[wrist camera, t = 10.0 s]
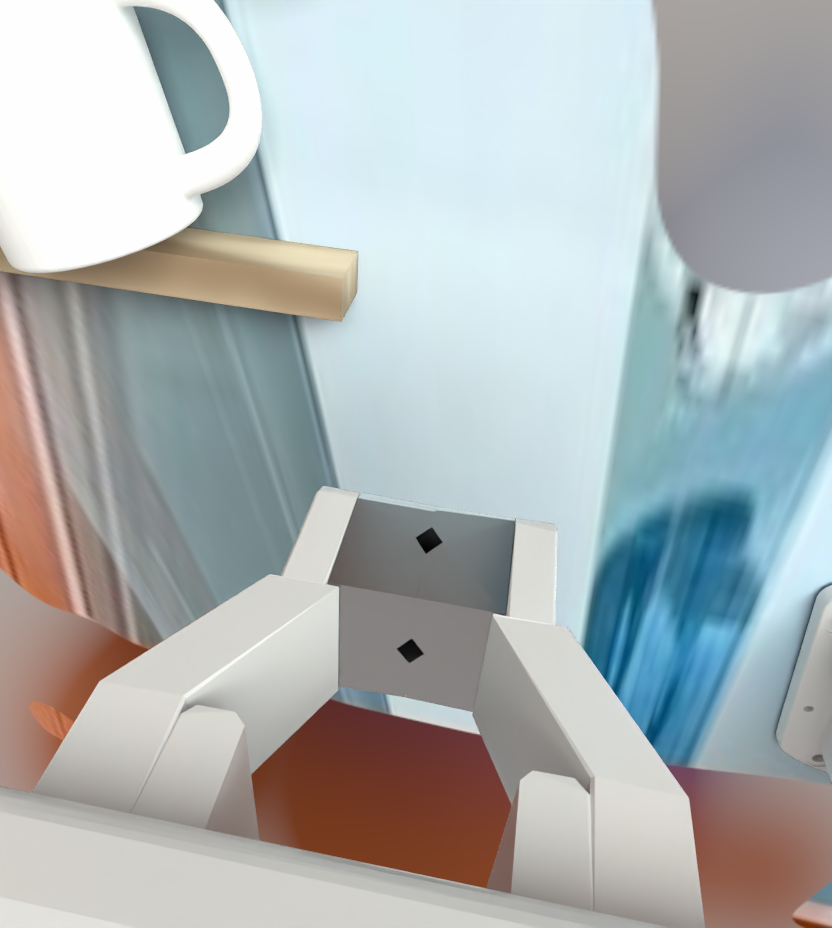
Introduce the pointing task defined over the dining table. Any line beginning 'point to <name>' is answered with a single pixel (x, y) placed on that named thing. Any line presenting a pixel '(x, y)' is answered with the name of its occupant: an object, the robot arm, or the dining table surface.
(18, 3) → the mug
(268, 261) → the guide channel
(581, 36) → the dining table surface
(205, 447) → the dining table surface
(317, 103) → the dining table surface
